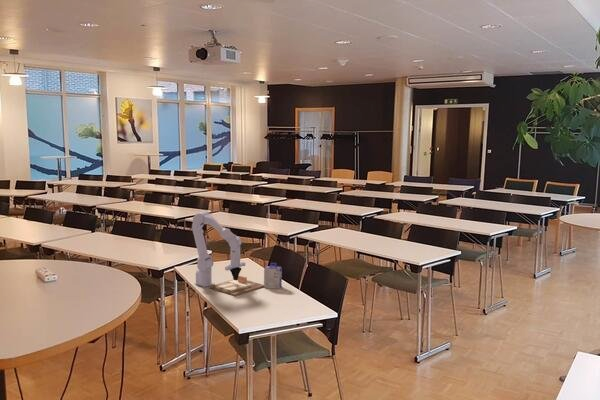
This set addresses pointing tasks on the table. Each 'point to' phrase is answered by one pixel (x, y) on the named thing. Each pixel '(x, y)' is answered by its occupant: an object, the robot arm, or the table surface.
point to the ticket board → (235, 288)
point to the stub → (241, 281)
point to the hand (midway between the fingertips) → (235, 279)
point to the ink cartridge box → (273, 276)
